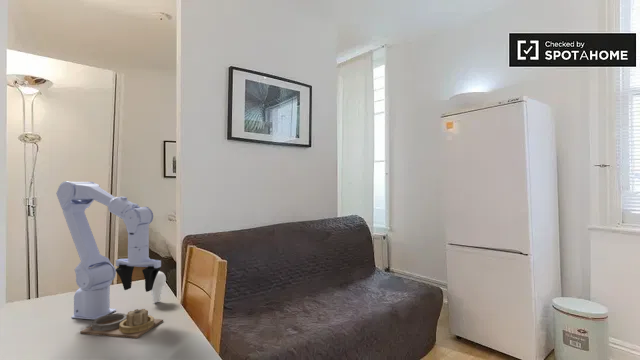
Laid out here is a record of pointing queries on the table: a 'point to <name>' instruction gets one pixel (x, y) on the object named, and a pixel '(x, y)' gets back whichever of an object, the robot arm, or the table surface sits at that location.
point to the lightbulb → (158, 286)
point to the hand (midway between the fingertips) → (138, 289)
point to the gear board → (116, 331)
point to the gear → (137, 317)
